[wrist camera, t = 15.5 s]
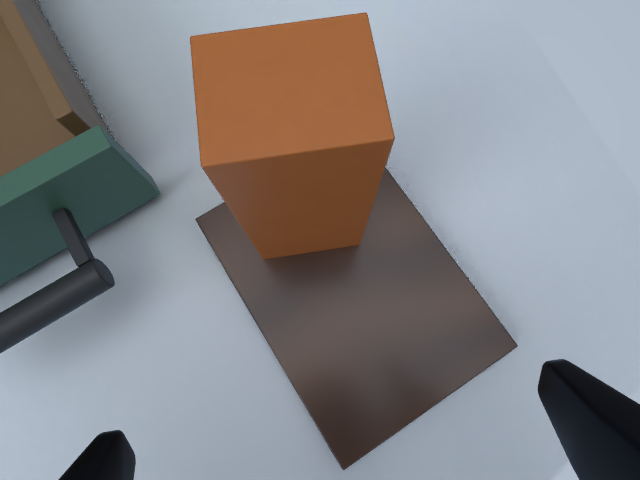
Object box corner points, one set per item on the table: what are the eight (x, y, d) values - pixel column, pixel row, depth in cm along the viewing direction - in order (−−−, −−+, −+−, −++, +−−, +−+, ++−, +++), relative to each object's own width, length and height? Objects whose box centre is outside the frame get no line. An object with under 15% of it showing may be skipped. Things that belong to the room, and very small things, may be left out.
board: (513, 346, 20) (518, 346, 20) (342, 467, 19) (343, 471, 19) (354, 130, 24) (355, 125, 23) (198, 222, 22) (194, 218, 22)
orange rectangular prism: (360, 245, 21) (395, 138, 11) (262, 259, 21) (200, 166, 11) (347, 173, 22) (367, 11, 12) (253, 187, 22) (189, 35, 12)
